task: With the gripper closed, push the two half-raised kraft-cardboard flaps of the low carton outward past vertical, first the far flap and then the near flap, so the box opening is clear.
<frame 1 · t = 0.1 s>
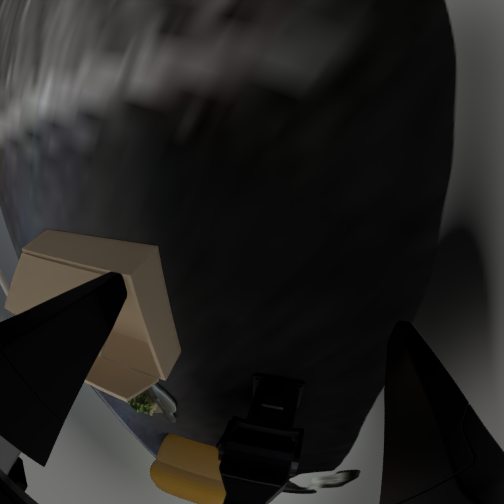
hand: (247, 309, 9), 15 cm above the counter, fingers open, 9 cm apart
bread: (217, 453, 59), on the counter
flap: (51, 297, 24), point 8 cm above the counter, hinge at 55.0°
salad plate: (133, 380, 47), on the counter
carton: (109, 291, 34), on the counter
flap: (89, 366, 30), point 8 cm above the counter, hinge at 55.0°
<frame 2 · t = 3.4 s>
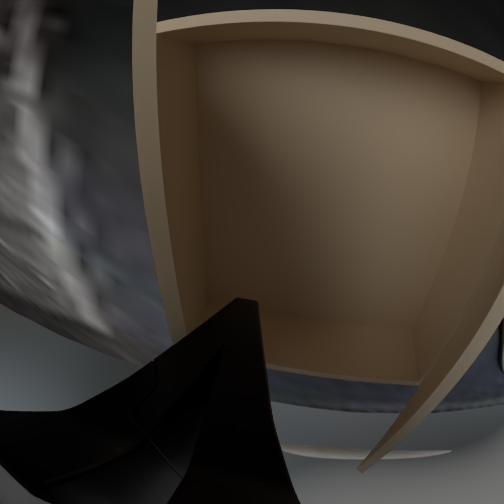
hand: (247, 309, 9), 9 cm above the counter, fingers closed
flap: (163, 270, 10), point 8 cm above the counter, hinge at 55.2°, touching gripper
carton: (331, 200, 16), on the counter
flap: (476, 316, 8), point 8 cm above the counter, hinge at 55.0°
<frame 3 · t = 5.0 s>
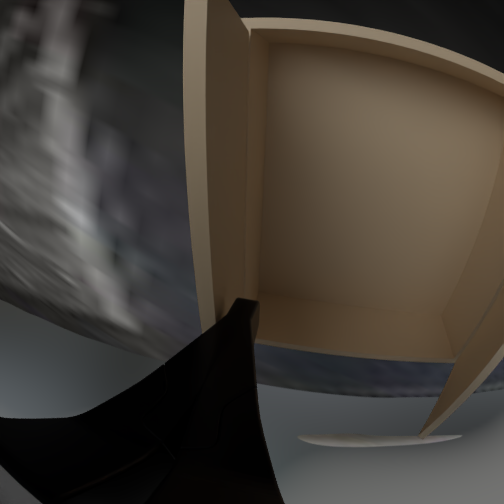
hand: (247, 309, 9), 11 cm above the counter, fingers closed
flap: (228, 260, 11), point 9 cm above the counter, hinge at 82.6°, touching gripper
carton: (384, 197, 17), on the counter
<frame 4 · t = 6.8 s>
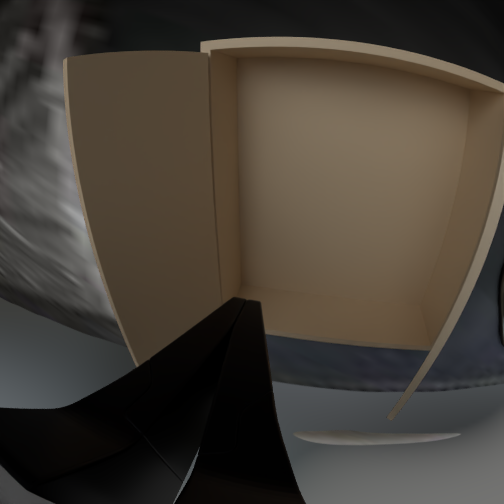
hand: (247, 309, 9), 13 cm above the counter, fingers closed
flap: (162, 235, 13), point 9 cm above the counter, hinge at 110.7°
carton: (350, 191, 19), on the counter
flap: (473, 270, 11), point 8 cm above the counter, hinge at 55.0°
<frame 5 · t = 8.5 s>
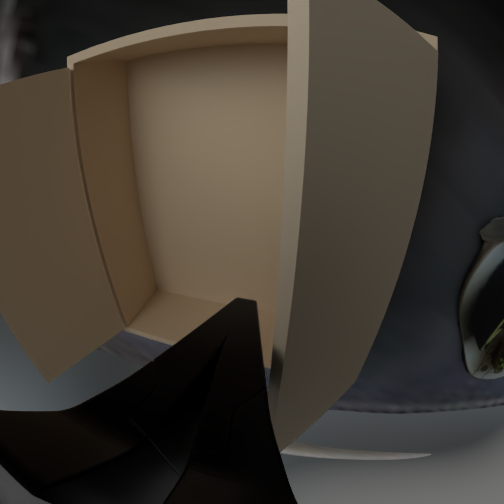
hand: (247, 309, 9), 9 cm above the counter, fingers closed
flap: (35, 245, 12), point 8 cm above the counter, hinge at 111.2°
carton: (249, 192, 17), on the counter
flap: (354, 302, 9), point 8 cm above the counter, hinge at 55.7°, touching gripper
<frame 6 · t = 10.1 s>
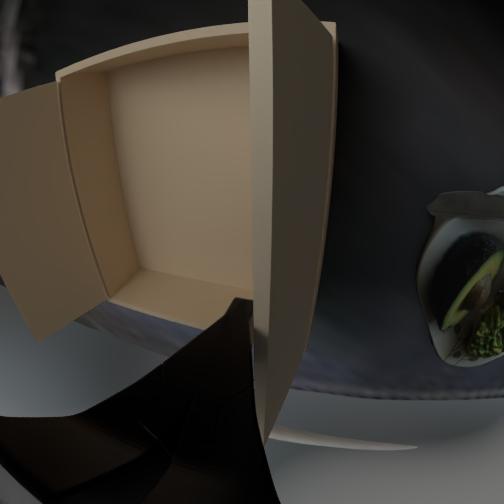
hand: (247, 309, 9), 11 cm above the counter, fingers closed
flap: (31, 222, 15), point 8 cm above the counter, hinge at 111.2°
carton: (208, 177, 19), on the counter
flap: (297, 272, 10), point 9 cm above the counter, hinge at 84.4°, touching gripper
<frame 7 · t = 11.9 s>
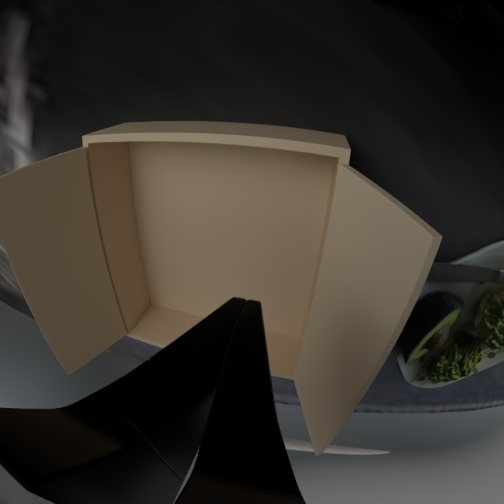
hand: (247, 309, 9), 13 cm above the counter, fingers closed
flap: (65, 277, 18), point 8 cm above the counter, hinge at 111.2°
salad plate: (465, 314, 22), on the counter
carton: (221, 238, 23), on the counter
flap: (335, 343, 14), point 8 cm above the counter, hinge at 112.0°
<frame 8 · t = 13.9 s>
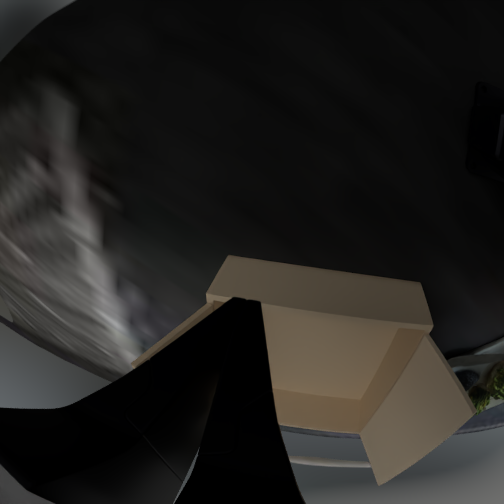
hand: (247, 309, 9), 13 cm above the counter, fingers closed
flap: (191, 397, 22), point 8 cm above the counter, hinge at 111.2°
salad plate: (480, 374, 25), on the counter
carton: (311, 344, 27), on the counter
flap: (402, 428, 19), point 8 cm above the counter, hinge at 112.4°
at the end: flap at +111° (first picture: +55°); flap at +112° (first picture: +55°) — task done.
